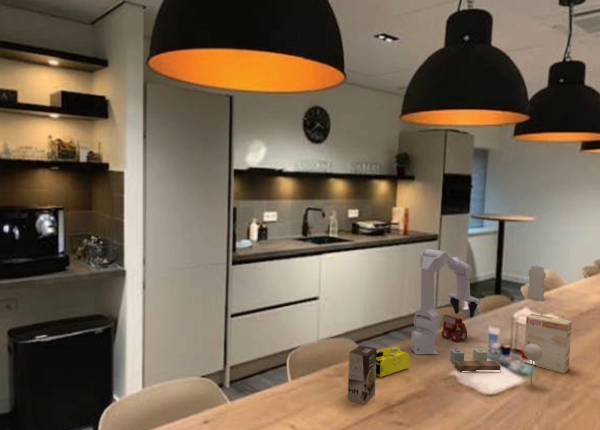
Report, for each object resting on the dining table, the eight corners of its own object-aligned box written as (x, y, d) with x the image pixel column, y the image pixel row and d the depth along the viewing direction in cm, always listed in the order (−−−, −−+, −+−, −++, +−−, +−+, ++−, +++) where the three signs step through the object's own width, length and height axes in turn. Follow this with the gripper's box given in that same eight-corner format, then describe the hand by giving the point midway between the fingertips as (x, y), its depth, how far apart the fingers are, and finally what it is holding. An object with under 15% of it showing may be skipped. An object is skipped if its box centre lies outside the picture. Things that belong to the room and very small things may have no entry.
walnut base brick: (459, 372, 176) (460, 365, 176) (454, 366, 181) (454, 360, 181) (500, 372, 177) (500, 365, 176) (494, 366, 182) (494, 360, 181)
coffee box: (364, 405, 148) (366, 356, 147) (346, 399, 151) (348, 351, 150) (375, 394, 155) (377, 347, 154) (358, 389, 159) (360, 344, 158)
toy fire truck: (461, 344, 207) (462, 321, 207) (438, 336, 217) (439, 315, 216) (470, 341, 212) (471, 319, 211) (446, 334, 221) (447, 312, 221)
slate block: (454, 364, 184) (454, 351, 183) (450, 360, 188) (450, 348, 187) (463, 364, 184) (464, 351, 184) (459, 360, 188) (460, 348, 188)
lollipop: (533, 389, 162) (535, 348, 161) (518, 382, 167) (520, 342, 166) (544, 386, 165) (546, 345, 164) (529, 379, 170) (531, 340, 169)
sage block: (477, 363, 185) (477, 350, 185) (472, 359, 189) (473, 347, 189) (486, 363, 186) (487, 350, 185) (482, 359, 190) (483, 347, 189)
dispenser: (525, 298, 297) (527, 264, 295) (528, 297, 299) (530, 264, 298) (542, 301, 289) (544, 267, 287) (545, 301, 291) (547, 266, 290)
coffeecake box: (569, 368, 181) (572, 320, 180) (564, 374, 176) (567, 324, 175) (528, 358, 192) (531, 312, 190) (523, 363, 186) (526, 316, 185)
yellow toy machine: (398, 364, 182) (399, 344, 182) (409, 369, 178) (410, 348, 177) (369, 374, 173) (370, 352, 172) (380, 379, 168) (381, 357, 167)
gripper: (482, 288, 212) (483, 315, 214) (453, 282, 223) (454, 309, 225) (474, 292, 207) (475, 320, 210) (445, 286, 218) (447, 313, 220)
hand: (464, 315), depth 217 cm, fingers open, 7 cm apart
